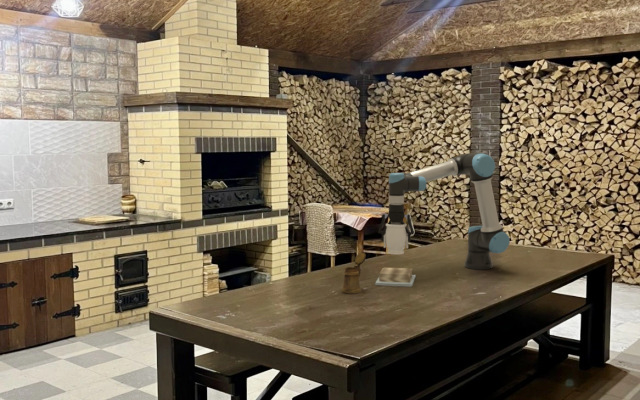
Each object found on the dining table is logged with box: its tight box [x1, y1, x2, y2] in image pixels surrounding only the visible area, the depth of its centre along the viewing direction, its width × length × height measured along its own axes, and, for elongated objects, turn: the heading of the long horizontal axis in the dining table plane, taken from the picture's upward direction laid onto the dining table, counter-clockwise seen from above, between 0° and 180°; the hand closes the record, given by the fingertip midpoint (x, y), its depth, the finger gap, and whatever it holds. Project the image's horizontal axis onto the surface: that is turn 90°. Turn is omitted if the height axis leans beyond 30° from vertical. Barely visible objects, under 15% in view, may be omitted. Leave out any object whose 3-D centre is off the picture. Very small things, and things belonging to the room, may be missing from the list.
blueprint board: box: [374, 274, 417, 288], centre depth 338 cm, size 18×22×1 cm
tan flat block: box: [378, 267, 413, 283], centre depth 337 cm, size 15×15×4 cm
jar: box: [384, 222, 408, 256], centre depth 335 cm, size 11×10×15 cm
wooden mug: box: [341, 251, 367, 294], centre depth 317 cm, size 9×14×18 cm, turn 135°
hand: (396, 247), depth 336 cm, fingers closed on jar, 10 cm apart
